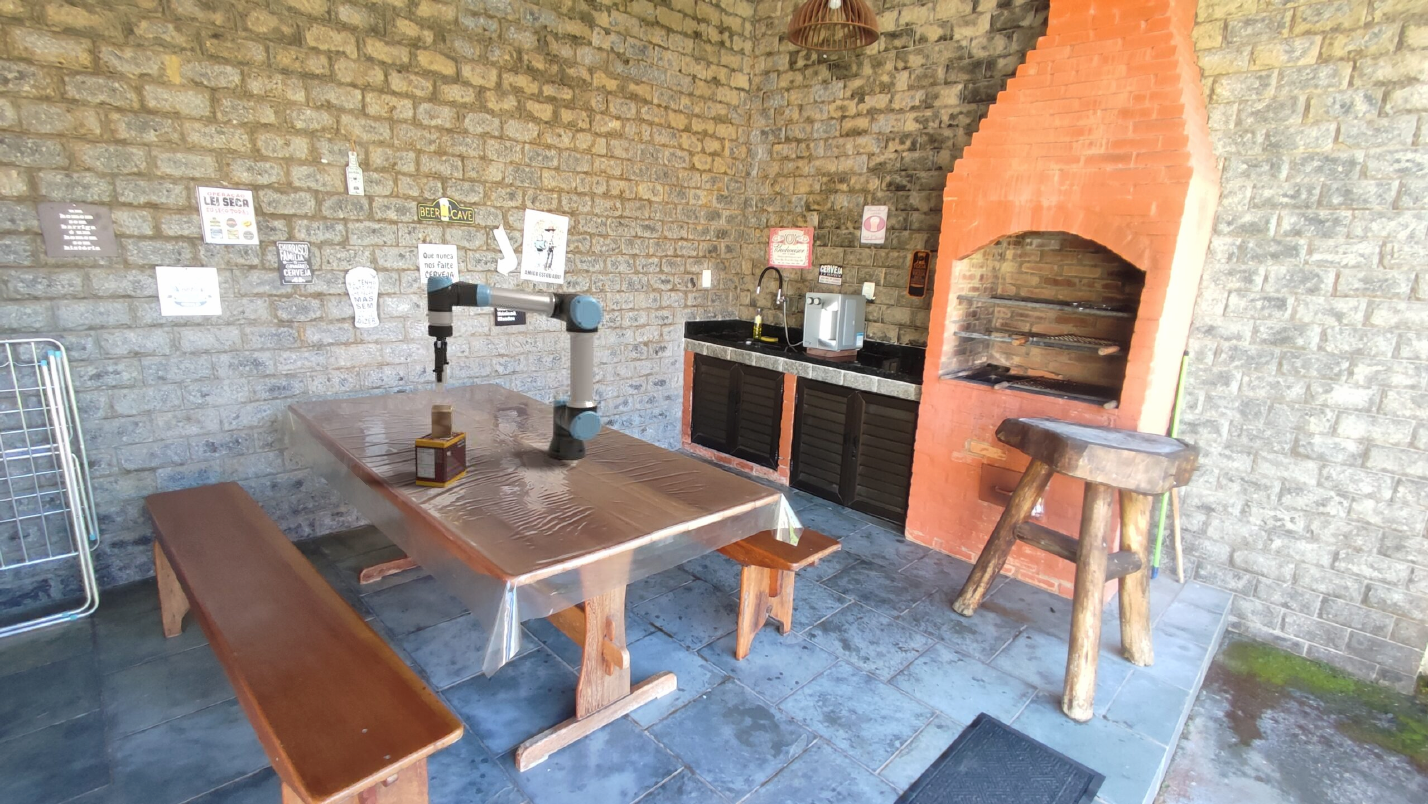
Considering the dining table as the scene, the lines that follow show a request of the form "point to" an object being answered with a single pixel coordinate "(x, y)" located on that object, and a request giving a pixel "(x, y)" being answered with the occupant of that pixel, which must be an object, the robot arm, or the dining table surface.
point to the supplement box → (440, 459)
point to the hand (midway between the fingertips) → (441, 387)
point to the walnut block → (441, 421)
